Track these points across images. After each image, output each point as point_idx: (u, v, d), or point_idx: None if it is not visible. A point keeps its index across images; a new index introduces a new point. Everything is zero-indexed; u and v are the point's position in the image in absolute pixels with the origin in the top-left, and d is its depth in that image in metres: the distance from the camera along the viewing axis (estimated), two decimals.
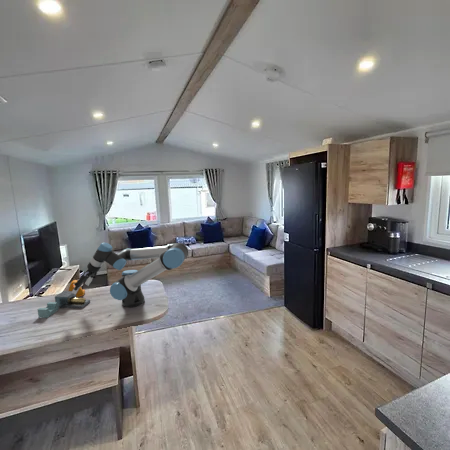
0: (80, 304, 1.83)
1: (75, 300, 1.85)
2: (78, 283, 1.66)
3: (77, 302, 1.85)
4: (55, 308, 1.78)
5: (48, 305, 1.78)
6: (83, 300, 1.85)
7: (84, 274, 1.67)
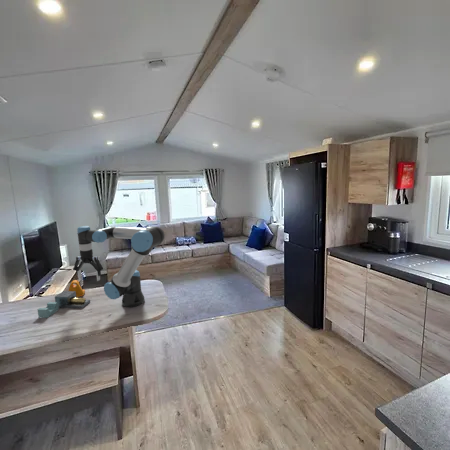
0: (80, 304, 1.83)
1: (75, 300, 1.85)
2: None
3: (77, 302, 1.85)
4: (55, 308, 1.78)
5: (48, 305, 1.78)
6: (83, 300, 1.85)
7: None
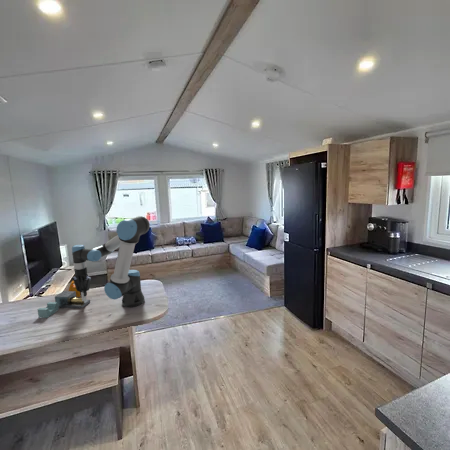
0: (80, 304, 1.83)
1: (74, 300, 1.85)
2: None
3: (76, 302, 1.85)
4: (55, 308, 1.78)
5: (48, 305, 1.78)
6: None
7: None
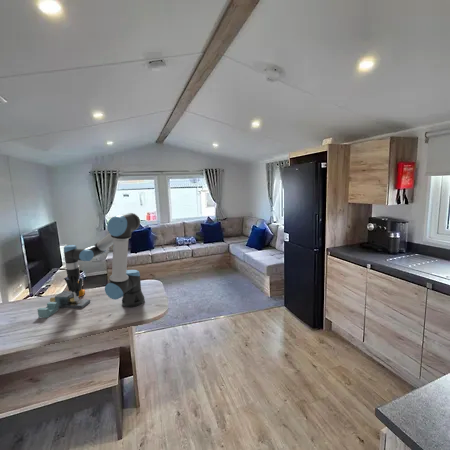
0: (80, 304, 1.83)
1: None
2: None
3: None
4: (55, 308, 1.78)
5: (48, 305, 1.78)
6: None
7: None
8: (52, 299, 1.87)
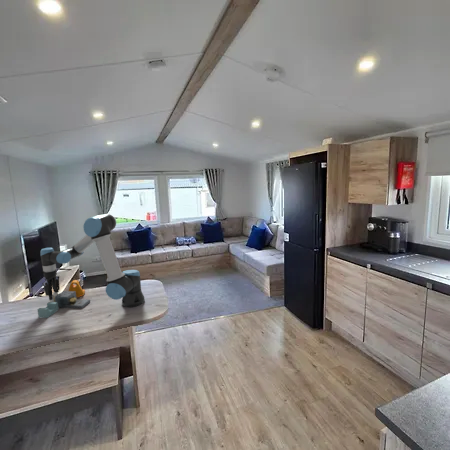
0: (80, 304, 1.83)
1: None
2: (47, 292, 1.82)
3: None
4: (55, 308, 1.78)
5: (48, 305, 1.78)
6: (74, 300, 1.85)
7: (44, 284, 1.80)
8: None
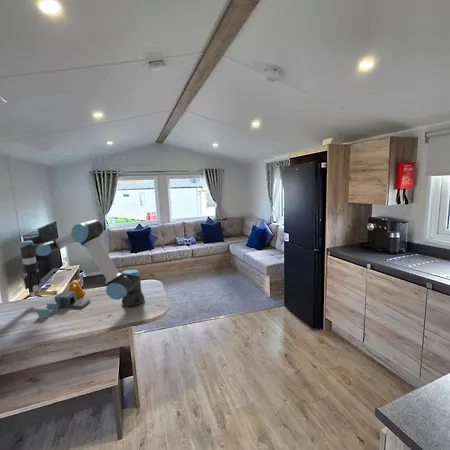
0: (80, 304, 1.83)
1: (46, 292, 1.86)
2: (27, 285, 1.82)
3: (48, 294, 1.87)
4: (55, 308, 1.78)
5: (48, 305, 1.78)
6: (54, 292, 1.86)
7: (23, 277, 1.80)
8: None
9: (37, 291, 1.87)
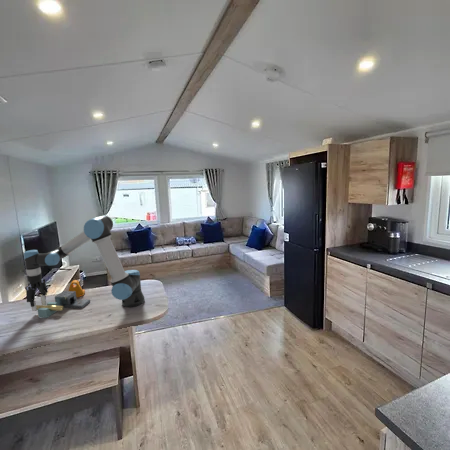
0: (80, 304, 1.83)
1: (52, 308, 1.73)
2: (28, 298, 1.67)
3: (54, 310, 1.74)
4: None
5: None
6: (60, 308, 1.73)
7: (26, 289, 1.66)
8: (37, 307, 1.75)
9: (42, 306, 1.75)
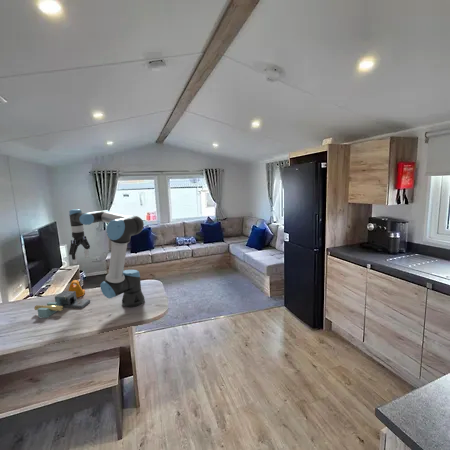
0: (80, 304, 1.83)
1: (52, 308, 1.73)
2: (71, 251, 1.81)
3: (54, 310, 1.74)
4: None
5: (48, 305, 1.78)
6: (60, 308, 1.73)
7: (71, 242, 1.83)
8: (37, 307, 1.74)
9: (42, 306, 1.74)
